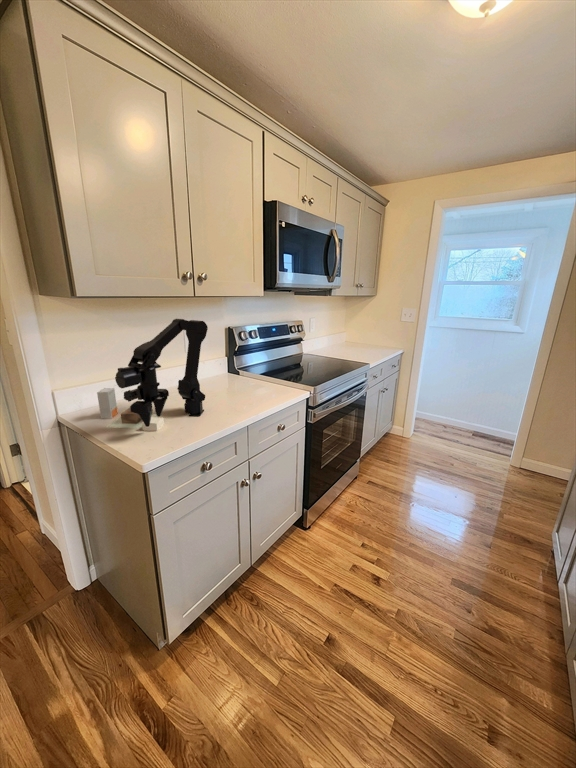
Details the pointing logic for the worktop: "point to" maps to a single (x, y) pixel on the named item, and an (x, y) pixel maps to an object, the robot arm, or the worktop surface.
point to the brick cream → (154, 424)
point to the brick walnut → (130, 417)
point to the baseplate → (126, 424)
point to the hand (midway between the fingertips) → (153, 421)
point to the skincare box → (107, 403)
